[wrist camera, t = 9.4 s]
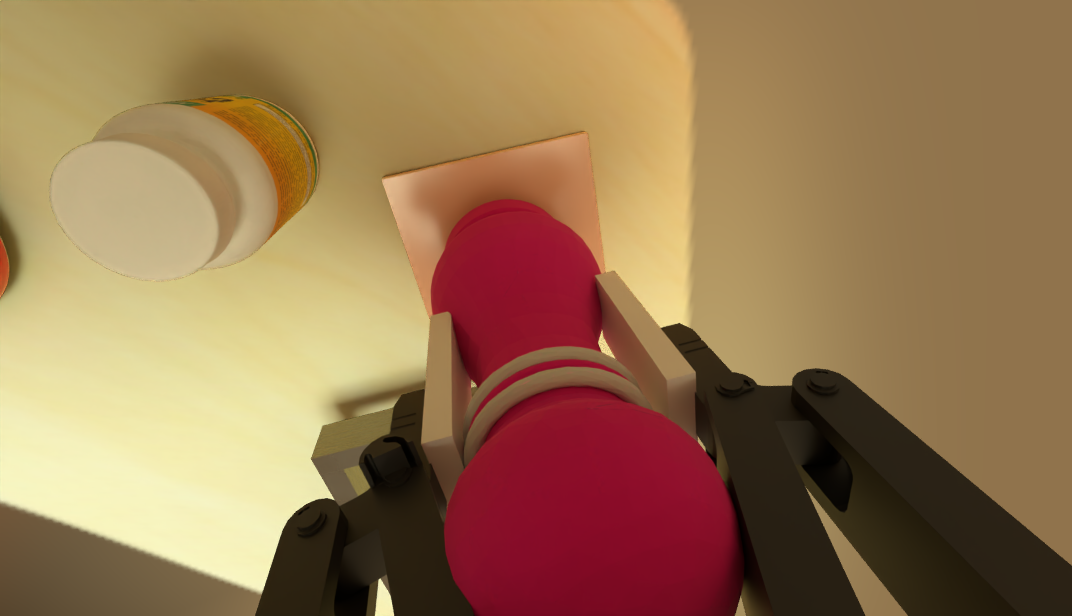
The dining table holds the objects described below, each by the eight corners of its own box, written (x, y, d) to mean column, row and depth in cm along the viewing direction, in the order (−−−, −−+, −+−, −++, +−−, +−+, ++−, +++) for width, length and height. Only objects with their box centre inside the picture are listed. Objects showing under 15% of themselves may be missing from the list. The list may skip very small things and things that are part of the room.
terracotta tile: (383, 177, 23) (381, 179, 22) (584, 131, 23) (587, 132, 23) (441, 348, 27) (441, 353, 27) (607, 306, 28) (610, 311, 27)
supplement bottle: (257, 236, 23) (145, 336, 14) (162, 137, 20) (-41, 187, 12) (347, 176, 22) (285, 243, 14) (260, 66, 20) (119, 66, 11)
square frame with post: (330, 402, 28) (283, 537, 20) (534, 351, 28) (567, 461, 21) (423, 582, 36) (416, 725, 29) (577, 539, 37) (612, 668, 29)
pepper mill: (581, 186, 23) (1042, 614, 5) (572, 319, 26) (831, 855, 8) (427, 188, 21) (332, 745, 4) (438, 326, 25) (413, 964, 7)
